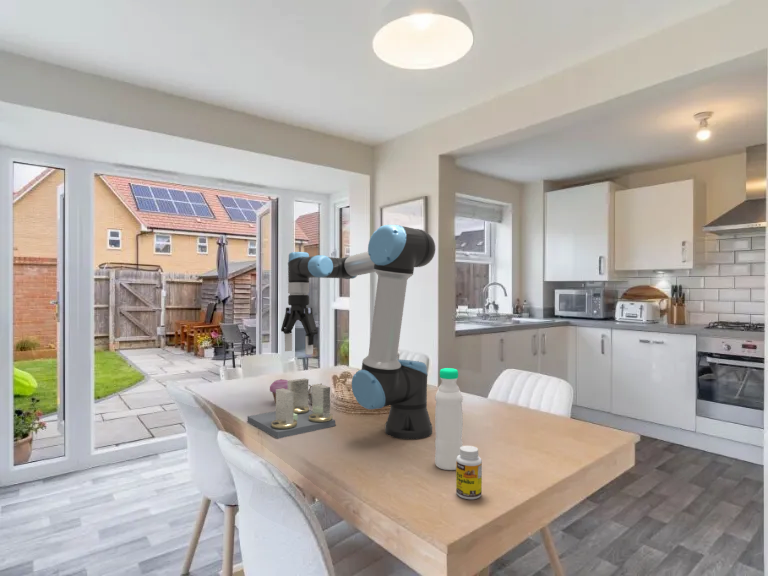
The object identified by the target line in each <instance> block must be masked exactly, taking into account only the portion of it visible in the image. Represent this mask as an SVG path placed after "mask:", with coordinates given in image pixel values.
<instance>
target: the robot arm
mask: <svg viewBox="0 0 768 576" xmlns="http://www.w3.org/2000/svg"><path fill="white" fill-rule="evenodd" d="M435 253H436V243H435V241H434V238H433V237H432V235H431V234H429V233H428V232H427V231H425V230H423V229H419V228H413V227H408V226H403V225H398V224H384V225H381V226H379V227H378V228H377V229H376V230H375V231H373V233H372V234H371V236H370V239H369V241H368V245H367V251H365V252H361V253H356V254H353V255H350V256H345V257H331V256H327V255H321V254H320V255H319V254H318V255H317V254H316V255H313V256H310V255H309V253H308V252H306V251H293V252H292V251H291V252H290V253H289V254H288V262H287V271H288V273H287V275H288V276H287V279H288V281H287V284H288V285H287V293H288V296H287V298H288V301H287V303H288V305H289V306H290V307H288V306H287V307H285V314H284V318H283V321H282V324H281V325H282V326H281V329H280V331H281V332H283V334H284V352H293V331H292V330H293V329H294V326H295V324H296V322H297V321H299V322H300V323H301V324H302V326H303V327H302V328H303V329H304V331H305V355H314V343H315V342H314V337H315V335H318V334H319V331H318V328H317V326H316V322H315V317H314V315H313V308H312V307H307V306H309V305H310V295H308V294H309V293H310V278H311V279H312V278H316V279H317V278H321V279H322V278H324V279H328V278H329V279H344V280H351V279H355V278H357V277H358V276H362V275H366V274H370V273H376V275H377V283H376V291H375V299H374V306H373V307H374V308H373V315H372V323H371V332H370V340H369V347H368V355H367V356H365V358H363V359H362V362H361V363H362V365H361V369H359V370H357V371H356V372H355V373H354V374H353V376H352V379H351V391H352V394H353V396H354V398H355V399H356V402H357V403H358V404H359V405H360V406H361V407H362V408H364V409H366V410H376V409H378V410H379V409H382V408H384V407H388V406H390V409H389V413H388V416H387V420H386V422H385V424H384V433H385V435H387V436H389V437H392V438H394V439H400V440H420V439H425V438H429V437H430V436H431V435H432V434H433V424H432V423H431V419H430V415H429V412H428V407H427V405H428V404H427V403H428V401H427V400H428V369H427V368H428V367H427V364H426V363H425V362H422V361H419V360H411V359H398V353H399V346H400V338H401V331H402V330H401V329H402V323H403V315H404V308H405V299H406V292H407V285H408V279H410V278H411V277H412V276H413V275H414V271H415V268H422V267H425V266H427V265H428V264H429V263H431V261H432V260H433V258H434V257H435Z"/></svg>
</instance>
